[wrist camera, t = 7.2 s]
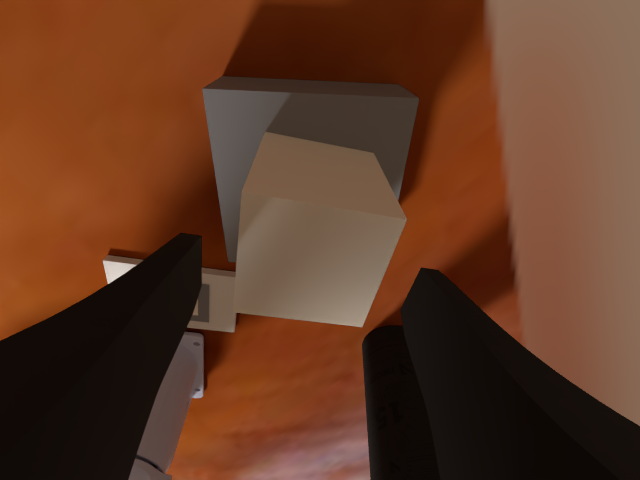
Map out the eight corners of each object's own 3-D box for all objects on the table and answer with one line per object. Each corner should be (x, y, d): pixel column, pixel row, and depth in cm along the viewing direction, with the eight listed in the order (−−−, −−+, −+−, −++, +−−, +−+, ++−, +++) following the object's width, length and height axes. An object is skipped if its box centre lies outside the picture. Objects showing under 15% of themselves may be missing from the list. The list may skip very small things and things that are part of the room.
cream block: (346, 240, 17) (362, 327, 12) (255, 226, 17) (232, 312, 12) (373, 152, 15) (406, 219, 10) (265, 131, 14) (241, 191, 9)
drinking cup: (450, 335, 28) (656, 786, 11) (391, 377, 31) (484, 771, 15) (386, 300, 25) (533, 825, 9) (329, 351, 29) (358, 796, 12)
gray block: (373, 227, 22) (384, 264, 18) (240, 225, 21) (228, 262, 18) (397, 83, 17) (419, 98, 13) (223, 75, 16) (202, 88, 13)
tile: (235, 326, 26) (233, 334, 26) (120, 314, 25) (115, 322, 24) (239, 272, 23) (237, 279, 22) (107, 255, 22) (101, 262, 21)
